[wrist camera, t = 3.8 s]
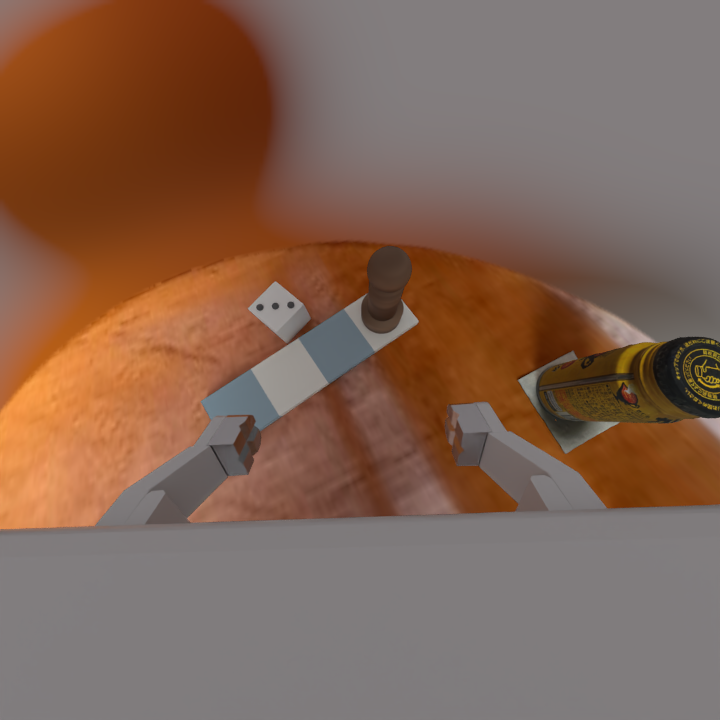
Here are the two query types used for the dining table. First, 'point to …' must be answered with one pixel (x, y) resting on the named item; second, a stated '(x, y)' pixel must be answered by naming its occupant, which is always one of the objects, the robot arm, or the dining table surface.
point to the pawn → (385, 289)
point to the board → (303, 367)
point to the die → (280, 312)
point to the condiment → (626, 387)
